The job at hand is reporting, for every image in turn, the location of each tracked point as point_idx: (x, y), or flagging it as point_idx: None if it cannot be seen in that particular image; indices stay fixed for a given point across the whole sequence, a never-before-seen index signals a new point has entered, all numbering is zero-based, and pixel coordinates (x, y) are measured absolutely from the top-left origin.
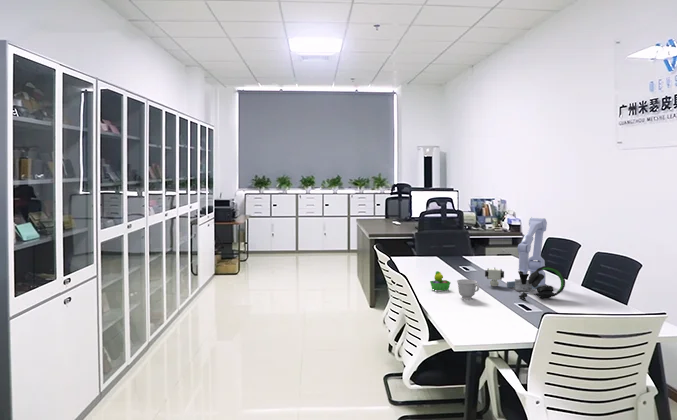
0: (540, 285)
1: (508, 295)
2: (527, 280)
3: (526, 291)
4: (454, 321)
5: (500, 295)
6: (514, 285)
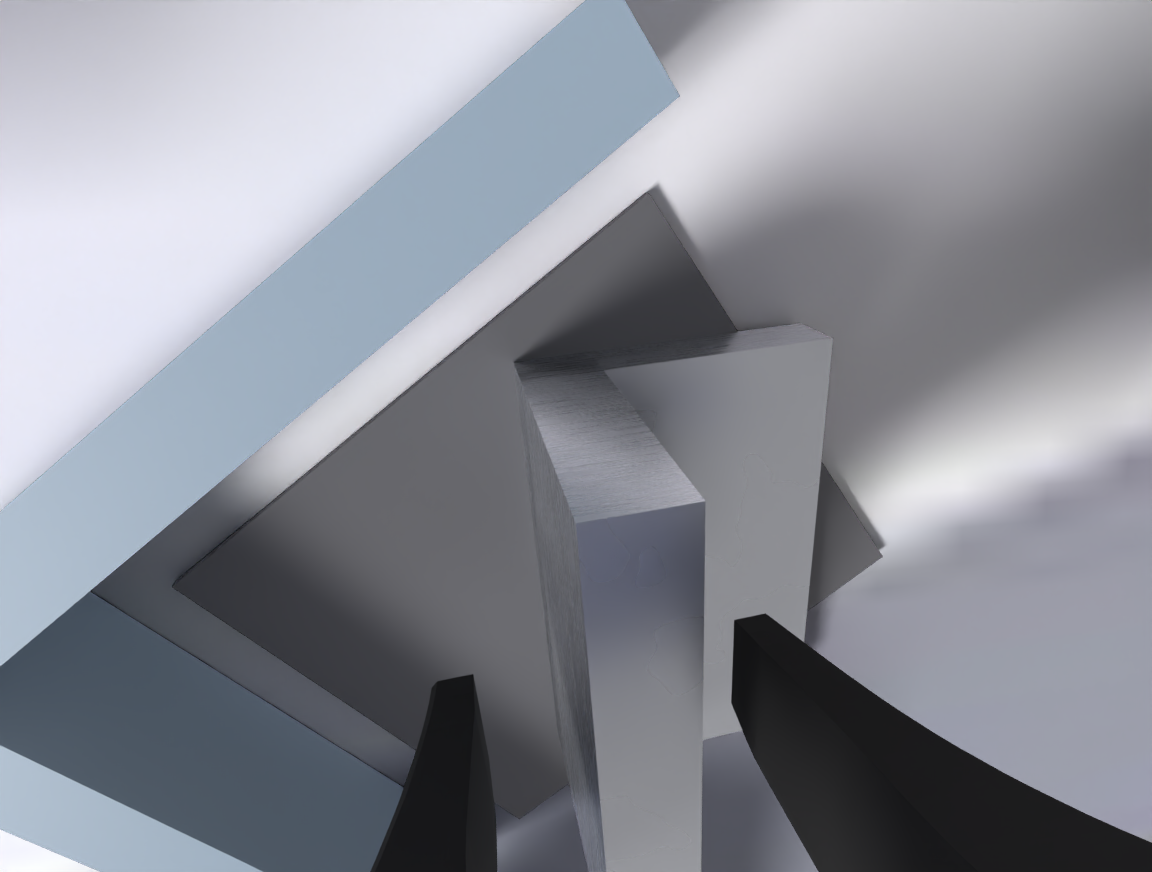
0: (626, 20)
1: (1113, 718)
2: (695, 665)
3: (826, 476)
4: None
5: (1103, 802)
6: (352, 794)
